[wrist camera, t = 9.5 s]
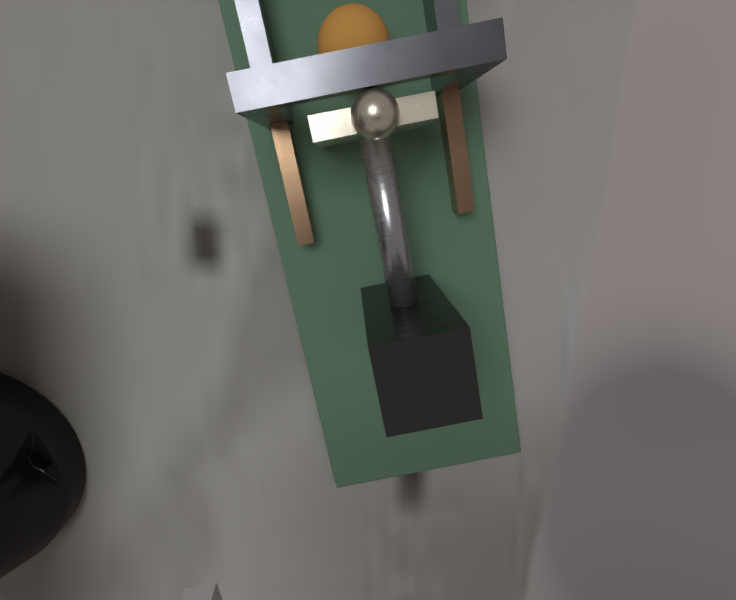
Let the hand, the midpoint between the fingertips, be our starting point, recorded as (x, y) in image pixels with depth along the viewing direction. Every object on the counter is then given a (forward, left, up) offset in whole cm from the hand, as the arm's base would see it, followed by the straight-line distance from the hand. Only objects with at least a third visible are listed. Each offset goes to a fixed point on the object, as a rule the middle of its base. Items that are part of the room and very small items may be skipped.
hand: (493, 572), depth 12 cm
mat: (-3, +4, -23) cm, 23 cm away
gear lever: (-3, +4, -22) cm, 23 cm away
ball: (-11, +13, -18) cm, 25 cm away
